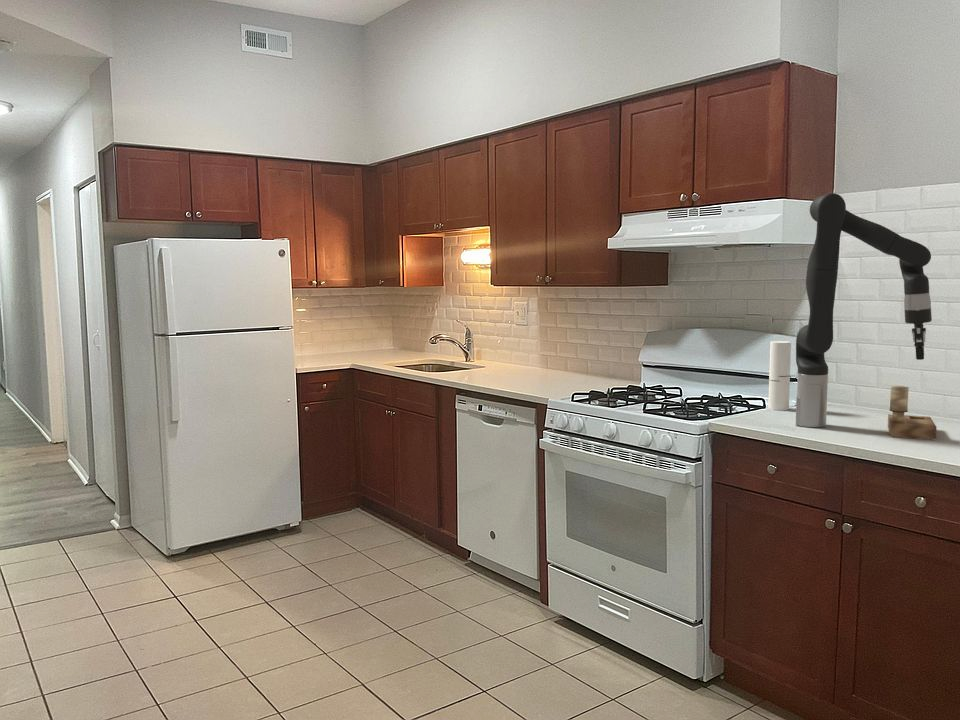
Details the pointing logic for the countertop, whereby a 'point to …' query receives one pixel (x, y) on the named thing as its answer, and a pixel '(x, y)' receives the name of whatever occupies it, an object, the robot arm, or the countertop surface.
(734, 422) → the countertop surface
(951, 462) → the countertop surface
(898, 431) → the board
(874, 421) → the countertop surface
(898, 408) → the peg
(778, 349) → the cylindrical container
